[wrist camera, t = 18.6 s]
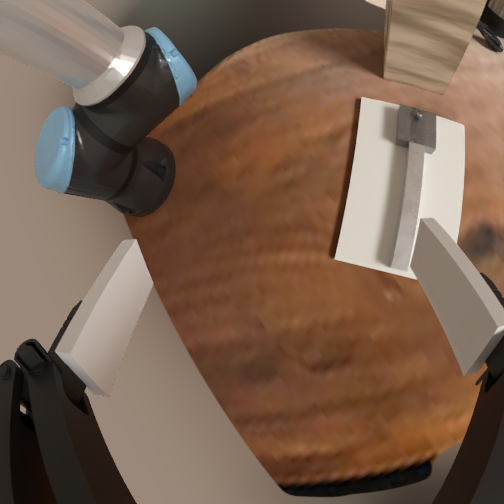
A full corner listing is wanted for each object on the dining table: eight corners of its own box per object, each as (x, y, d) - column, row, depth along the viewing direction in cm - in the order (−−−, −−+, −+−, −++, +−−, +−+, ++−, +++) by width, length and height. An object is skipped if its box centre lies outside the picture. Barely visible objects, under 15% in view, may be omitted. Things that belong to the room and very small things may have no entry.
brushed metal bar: (397, 111, 35) (400, 100, 32) (432, 120, 34) (438, 110, 30) (376, 264, 37) (379, 265, 34) (414, 273, 35) (421, 275, 32)
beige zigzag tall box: (381, 35, 36) (376, -110, 5) (440, 50, 33) (473, -81, 1) (380, 80, 37) (386, -91, 6) (445, 98, 33) (509, -46, 2)
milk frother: (500, 18, 25) (515, -17, 11) (527, 65, 25) (551, 31, 11) (455, 4, 29) (465, -38, 15) (481, 50, 29) (502, 7, 15)
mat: (361, 100, 38) (361, 97, 37) (462, 127, 33) (464, 125, 32) (334, 259, 40) (334, 259, 39) (445, 286, 34) (447, 287, 33)
